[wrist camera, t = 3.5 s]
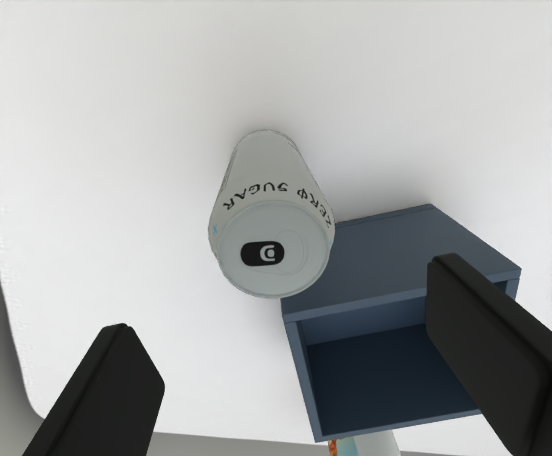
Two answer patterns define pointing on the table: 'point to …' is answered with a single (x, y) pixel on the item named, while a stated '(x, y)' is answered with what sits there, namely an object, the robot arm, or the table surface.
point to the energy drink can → (270, 219)
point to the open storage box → (382, 325)
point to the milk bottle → (365, 445)
